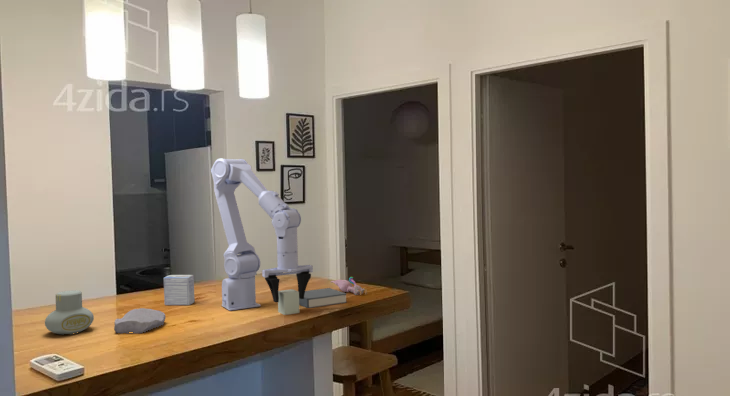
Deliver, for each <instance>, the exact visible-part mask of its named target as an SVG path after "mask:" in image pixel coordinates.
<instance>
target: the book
mask: <svg viewBox="0 0 730 396" xmlns="http://www.w3.org/2000/svg"><path fill="white" fill-rule="evenodd" d="M340 303H341V304H345V303H347V293H345V292H344V291H341V290H340V291H339V290H337V289H333V288H331V287H327V288H319V289H311V290H310V289H309V290H305V294H304V299H300V298H299V306H301V307H303V308H306V309H312V308H320V307H326V306H332V305H339V304H340Z"/></svg>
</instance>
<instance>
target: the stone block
mask: <svg viewBox="0 0 730 396" xmlns="http://www.w3.org/2000/svg"><path fill="white" fill-rule="evenodd" d="M165 321H166V313H164V312H163V311H161V310H155V309H152V308H145V307H143V308H142V307H141V308H134V309H131V310H129V311H127V312H126V313H125V314H124V315H123V317H122V318H116V319H115V320H114V326H113V327H114V328H113V329H114V332H115V333H116V334H117V333H120V334H123V333H126V334H130V333H129V332H133V333H132V334H144V333H147V332H149V331H151V329H152V330H154V329H153V328H155V329H157V328H159V326H160V327H162V326H164V323H165ZM161 325H162V326H161ZM156 327H157V328H156ZM148 330H149V331H148ZM146 331H147V332H146ZM143 332H144V333H143Z"/></svg>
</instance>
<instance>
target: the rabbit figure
mask: <svg viewBox="0 0 730 396" xmlns="http://www.w3.org/2000/svg"><path fill="white" fill-rule="evenodd" d="M353 278H354V277H353V276H350V277H349V278H348V280H346V279H336V280H331V281H330V283H334V284H335V286H337V287H338V289H339V290H340V291H341V292H343V293H345V292H347V293H349V292H351V293H353V294H354V295H355V296H360V295H361V296H362V295H363V293H365V294H368V291H367V289H365V288H364V287H363V288H362V287H361V285H359V284H357V283H356V281H355V280H354V279H353ZM364 291H365V292H364Z"/></svg>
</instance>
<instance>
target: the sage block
mask: <svg viewBox="0 0 730 396" xmlns="http://www.w3.org/2000/svg"><path fill="white" fill-rule="evenodd" d="M278 293H279V302H277V307H278V308H277V312H278V313H279V314H282V315H284V316H287V315H294V314H300V305H299V292H298V290H296V289H292V288H291V289H283V290H278Z"/></svg>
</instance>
